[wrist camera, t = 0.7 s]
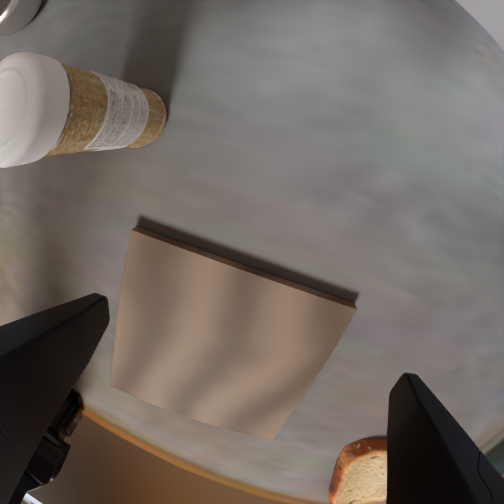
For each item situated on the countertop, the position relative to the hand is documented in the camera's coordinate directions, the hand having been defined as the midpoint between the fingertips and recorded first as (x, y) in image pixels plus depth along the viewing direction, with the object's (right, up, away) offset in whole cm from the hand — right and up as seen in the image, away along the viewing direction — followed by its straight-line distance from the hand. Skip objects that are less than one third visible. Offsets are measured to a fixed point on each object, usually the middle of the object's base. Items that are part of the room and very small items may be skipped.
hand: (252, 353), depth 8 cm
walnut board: (-3, -6, +18) cm, 19 cm away
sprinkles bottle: (-8, +12, +12) cm, 19 cm away
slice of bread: (+16, -29, +26) cm, 42 cm away
